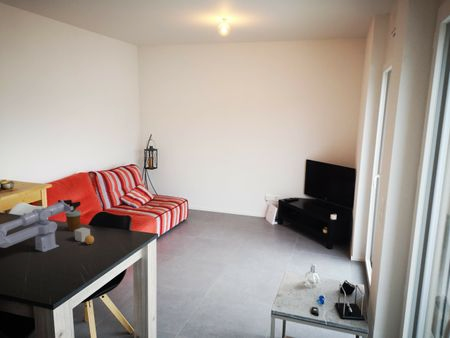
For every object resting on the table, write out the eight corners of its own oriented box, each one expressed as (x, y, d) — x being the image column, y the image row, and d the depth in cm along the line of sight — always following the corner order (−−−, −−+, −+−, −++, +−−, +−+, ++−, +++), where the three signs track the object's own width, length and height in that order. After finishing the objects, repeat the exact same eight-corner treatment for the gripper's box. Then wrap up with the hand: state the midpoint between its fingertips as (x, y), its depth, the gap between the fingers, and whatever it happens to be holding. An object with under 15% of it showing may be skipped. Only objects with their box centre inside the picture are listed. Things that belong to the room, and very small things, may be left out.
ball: (89, 246, 196) (88, 237, 195) (83, 244, 199) (82, 236, 198) (96, 243, 201) (95, 235, 200) (90, 241, 203) (89, 233, 202)
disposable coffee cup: (78, 232, 217) (77, 214, 215) (63, 232, 217) (62, 213, 215) (84, 227, 226) (83, 209, 224) (70, 226, 226) (69, 209, 224)
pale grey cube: (81, 241, 202) (81, 232, 201) (75, 239, 205) (74, 230, 204) (90, 238, 207) (89, 229, 206) (83, 236, 210) (83, 227, 209)
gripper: (62, 204, 190) (83, 197, 202) (46, 200, 197) (66, 194, 208) (64, 216, 192) (84, 209, 203) (47, 212, 199) (68, 205, 210)
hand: (75, 202), depth 206 cm, fingers open, 7 cm apart
